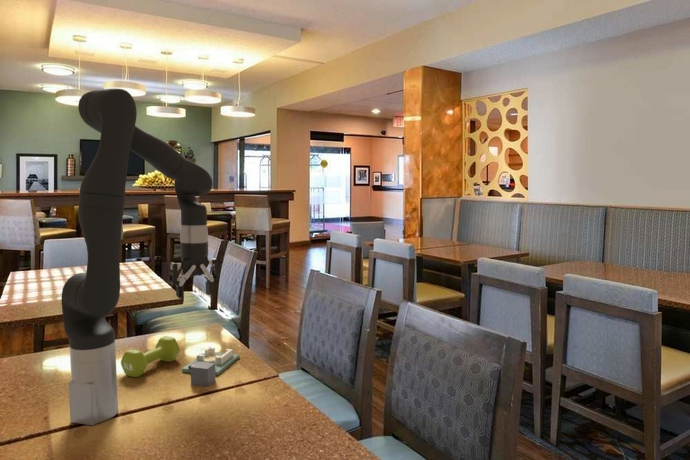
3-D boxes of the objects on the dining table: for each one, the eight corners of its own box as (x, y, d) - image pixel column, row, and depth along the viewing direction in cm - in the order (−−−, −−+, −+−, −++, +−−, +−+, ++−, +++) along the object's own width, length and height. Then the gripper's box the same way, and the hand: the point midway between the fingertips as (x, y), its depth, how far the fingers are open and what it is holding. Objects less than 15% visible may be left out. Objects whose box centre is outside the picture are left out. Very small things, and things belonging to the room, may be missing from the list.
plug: (208, 387, 128) (207, 368, 127) (189, 384, 129) (188, 366, 128) (215, 380, 132) (215, 363, 131) (197, 378, 133) (196, 361, 132)
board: (217, 375, 135) (217, 365, 134) (182, 372, 137) (181, 361, 137) (239, 357, 148) (239, 348, 148) (207, 354, 151) (206, 345, 150)
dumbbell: (138, 381, 132) (137, 355, 131) (118, 375, 135) (116, 350, 134) (182, 360, 146) (182, 337, 145) (163, 356, 150) (162, 333, 149)
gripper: (176, 243, 130) (177, 302, 131) (223, 240, 140) (224, 295, 141) (164, 241, 135) (165, 298, 137) (210, 237, 145) (211, 290, 146)
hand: (195, 296), depth 139 cm, fingers open, 8 cm apart
